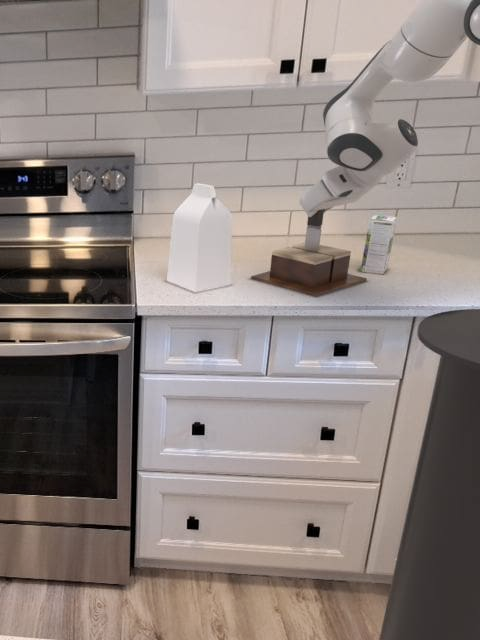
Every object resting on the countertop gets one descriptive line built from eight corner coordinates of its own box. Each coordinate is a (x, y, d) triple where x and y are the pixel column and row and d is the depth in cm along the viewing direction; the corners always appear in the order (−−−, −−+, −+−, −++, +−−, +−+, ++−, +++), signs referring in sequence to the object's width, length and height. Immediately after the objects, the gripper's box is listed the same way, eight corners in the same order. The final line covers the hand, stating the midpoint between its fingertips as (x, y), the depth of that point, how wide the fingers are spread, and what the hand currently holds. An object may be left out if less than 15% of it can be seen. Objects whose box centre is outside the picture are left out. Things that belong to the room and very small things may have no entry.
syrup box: (364, 266, 191) (372, 214, 185) (388, 269, 187) (397, 216, 182) (360, 272, 187) (368, 218, 181) (384, 275, 183) (393, 220, 177)
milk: (166, 281, 188) (170, 184, 177) (200, 274, 192) (206, 179, 182) (195, 293, 178) (201, 191, 167) (230, 285, 182) (238, 185, 171)
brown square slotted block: (366, 281, 179) (371, 251, 176) (315, 297, 170) (320, 266, 167) (299, 266, 195) (303, 238, 192) (250, 279, 186) (253, 250, 183)
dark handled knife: (320, 255, 178) (327, 197, 173) (314, 257, 177) (322, 199, 172) (306, 252, 182) (313, 195, 176) (301, 254, 181) (308, 196, 175)
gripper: (374, 162, 170) (333, 197, 181) (320, 173, 160) (280, 209, 172) (388, 183, 168) (346, 217, 180) (335, 194, 159) (293, 230, 170)
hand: (313, 213), depth 176 cm, fingers closed on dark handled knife, 2 cm apart
